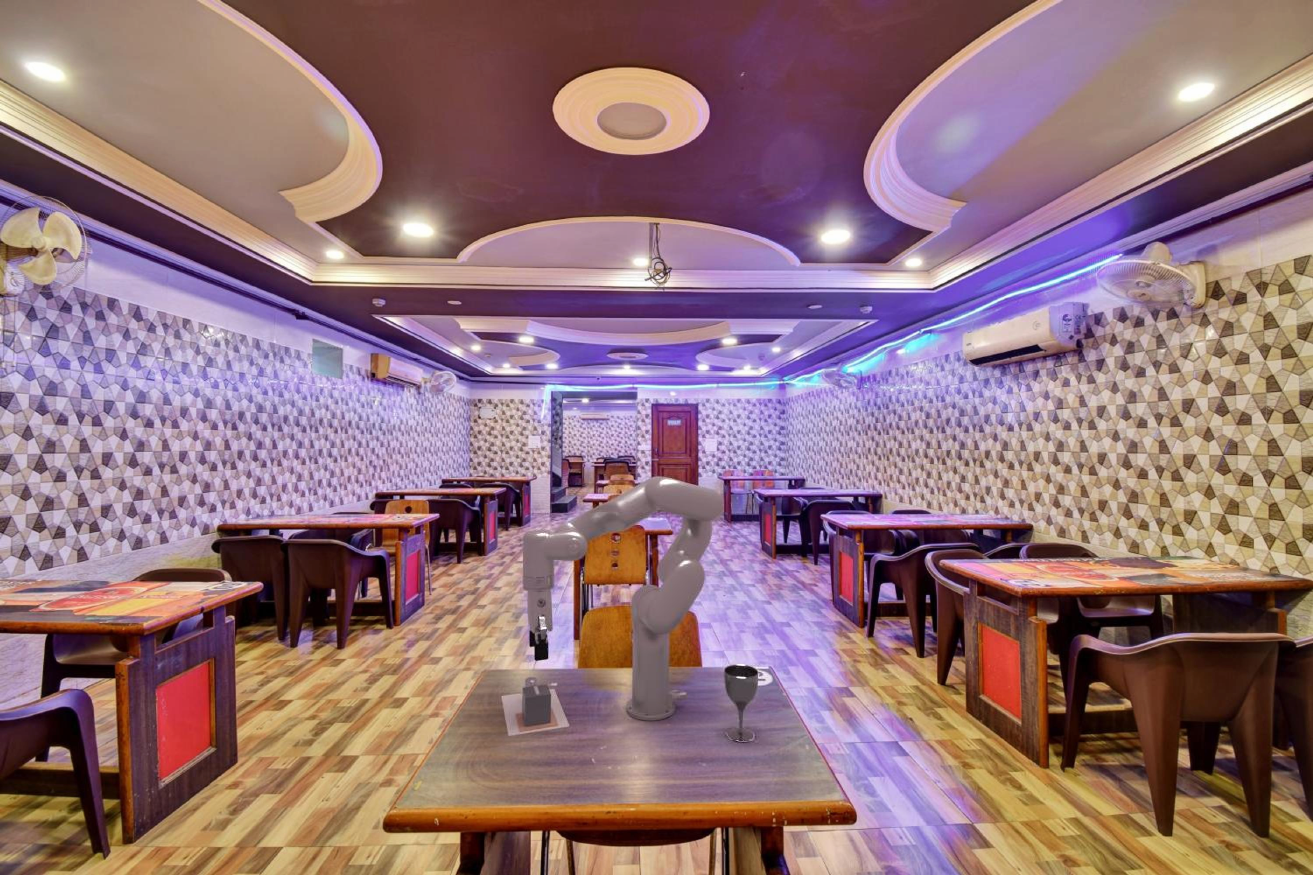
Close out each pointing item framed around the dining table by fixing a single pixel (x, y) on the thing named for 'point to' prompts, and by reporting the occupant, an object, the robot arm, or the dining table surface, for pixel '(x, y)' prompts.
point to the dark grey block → (536, 705)
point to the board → (515, 719)
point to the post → (530, 682)
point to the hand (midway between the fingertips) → (538, 652)
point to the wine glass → (740, 695)
